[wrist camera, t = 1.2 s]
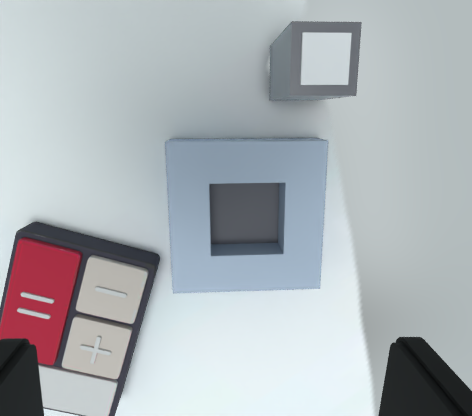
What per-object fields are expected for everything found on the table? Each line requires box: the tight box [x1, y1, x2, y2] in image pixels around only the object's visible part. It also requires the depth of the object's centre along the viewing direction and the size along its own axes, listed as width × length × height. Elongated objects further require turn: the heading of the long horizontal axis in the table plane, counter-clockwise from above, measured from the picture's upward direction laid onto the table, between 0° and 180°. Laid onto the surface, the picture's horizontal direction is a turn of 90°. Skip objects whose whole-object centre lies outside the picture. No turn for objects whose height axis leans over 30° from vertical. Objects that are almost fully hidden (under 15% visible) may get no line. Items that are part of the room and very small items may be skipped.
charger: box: [269, 21, 361, 100], centre depth 25 cm, size 4×4×8 cm
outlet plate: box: [165, 138, 328, 293], centre depth 30 cm, size 12×12×3 cm
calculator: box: [0, 222, 160, 416], centre depth 32 cm, size 11×4×15 cm
